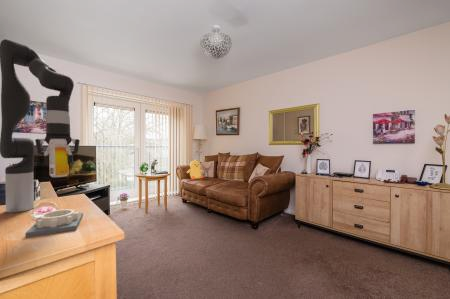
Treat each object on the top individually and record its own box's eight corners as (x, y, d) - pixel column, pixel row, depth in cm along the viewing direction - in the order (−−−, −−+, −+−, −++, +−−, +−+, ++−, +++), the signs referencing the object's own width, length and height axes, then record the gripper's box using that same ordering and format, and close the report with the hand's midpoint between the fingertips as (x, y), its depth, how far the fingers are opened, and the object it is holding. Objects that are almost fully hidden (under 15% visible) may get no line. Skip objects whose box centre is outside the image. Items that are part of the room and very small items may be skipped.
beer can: (72, 175, 85) (72, 139, 85) (59, 177, 79) (58, 138, 79) (59, 175, 86) (58, 139, 86) (45, 177, 80) (44, 138, 80)
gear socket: (41, 221, 81) (41, 210, 81) (83, 215, 88) (82, 205, 87) (25, 237, 67) (25, 223, 67) (76, 229, 73) (76, 217, 73)
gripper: (81, 124, 89) (82, 163, 89) (37, 123, 82) (38, 165, 82) (78, 122, 82) (79, 164, 83) (31, 121, 76) (32, 166, 76)
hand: (59, 164), depth 82 cm, fingers closed on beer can, 6 cm apart
